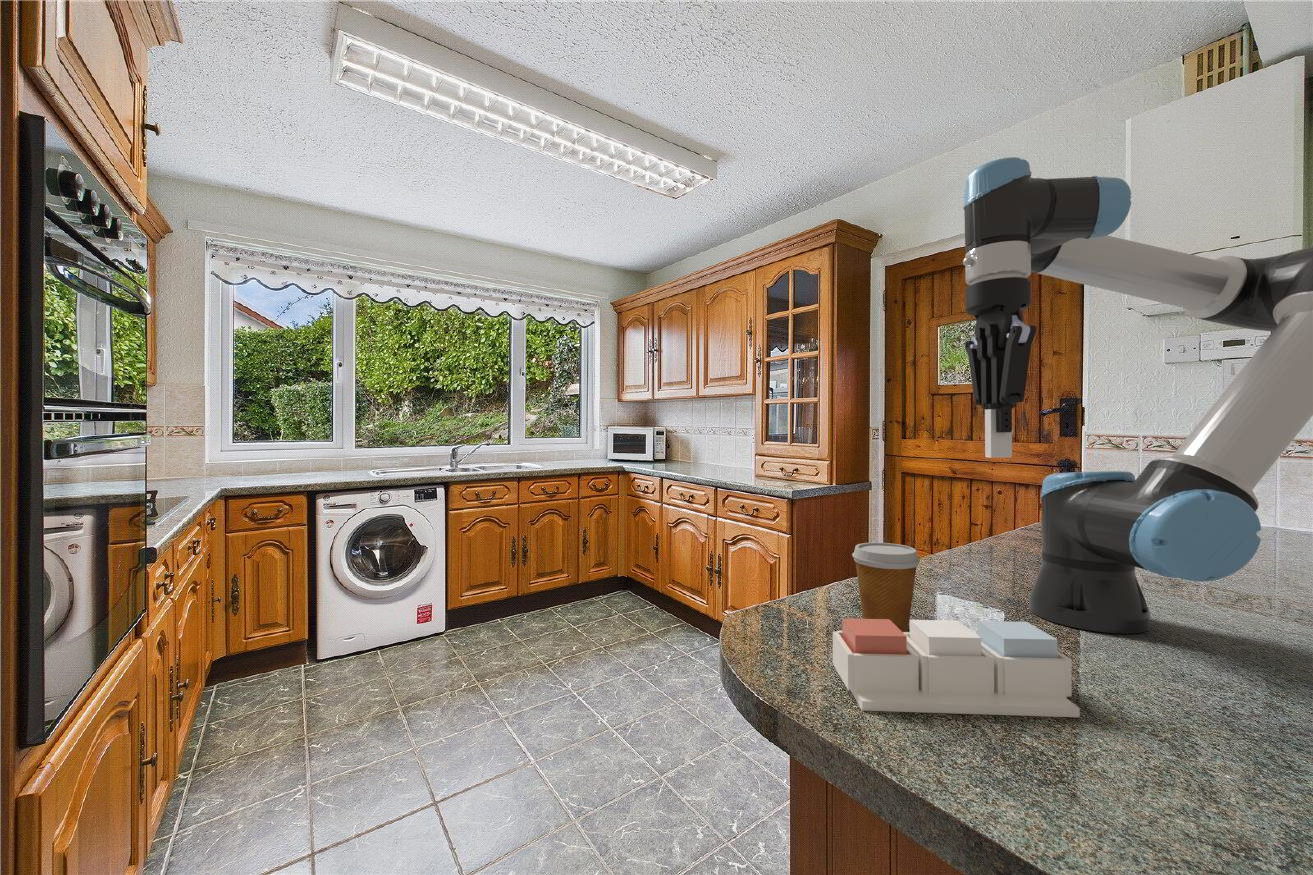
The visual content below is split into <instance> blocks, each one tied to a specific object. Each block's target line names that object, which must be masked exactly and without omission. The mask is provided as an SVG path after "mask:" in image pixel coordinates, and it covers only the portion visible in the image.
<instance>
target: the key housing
mask: <svg viewBox="0 0 1313 875" xmlns="http://www.w3.org/2000/svg"><path fill="white" fill-rule="evenodd" d="M903 633H904V634H905V635H906V636H907V655H901V654H859V653H852V652H851V650H850V649H849V647H848V646H847V644H846V643H845V642H844V640H843V639H842V630H837V631H832V665H833V666H834V668H835V670H836V672H837V673H838V675H839V677H840V678H841V680H842V682H843V684H844V685H845V687H846V689H847V691H850V693H851V694H852V696H853V698H854V699H855V701H856V703H857V704H858V706H859V707H860V709H861V711H862V712H863V711H865V712H866V711H867V712H893V713H896V712H898V713H927V714H928V713H929V714H955V715H956V714H960V715H989V716H991V715H993V716H1022V717H1023V716H1024V717H1025V716H1027V717H1028V716H1029V717H1049V718H1050V717H1054V718H1065V717H1066V718H1080V717H1081V714H1080V710H1081V709H1080V706H1078V705H1077V704H1075V703H1074V702H1073V701H1071V700H1069V698H1068V697H1072V659H1071V658H1069V657H1068V656H1066V655H1065V654H1063V653H1062V652H1060V651H1058V658H1027V657H1002V656H1000V655H999V654H998V653H996V652H995V651H994V650H992V649H991V648H990V647H988V646H987V645H986V644H984V643H983V642H981V656H943V655H926V654H925V653H924V652H923V651H922V650H921V649H920V648H919V647H918V646H917V645H916V644H915V643H914V642H913V641H912V640H911V639H910V631H906V632H903ZM976 634H977V635H978V633H976Z"/></svg>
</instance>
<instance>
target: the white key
mask: <svg viewBox="0 0 1313 875" xmlns="http://www.w3.org/2000/svg"><path fill="white" fill-rule="evenodd" d="M909 632H910V639H911V640H912V641H913V642H914V643H915V644H916V645H917V646H918V647H919V648H920V649H921V650H922V651H923V652H924V653H925V654H926V655H943V656H981V637H979V636H978V635H977V634H978V633H975V632H974V631H973V630H971V629H969V628H968V627H967V626H966V625H964V624H963V623H962V622H961V621H958V620H946V619H945V620H942V619H909Z"/></svg>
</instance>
